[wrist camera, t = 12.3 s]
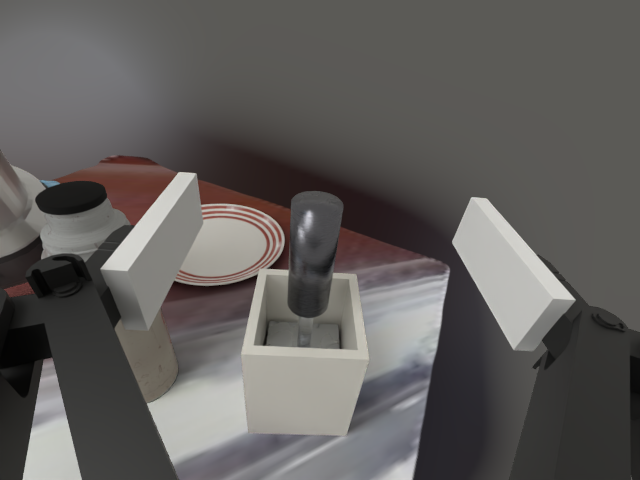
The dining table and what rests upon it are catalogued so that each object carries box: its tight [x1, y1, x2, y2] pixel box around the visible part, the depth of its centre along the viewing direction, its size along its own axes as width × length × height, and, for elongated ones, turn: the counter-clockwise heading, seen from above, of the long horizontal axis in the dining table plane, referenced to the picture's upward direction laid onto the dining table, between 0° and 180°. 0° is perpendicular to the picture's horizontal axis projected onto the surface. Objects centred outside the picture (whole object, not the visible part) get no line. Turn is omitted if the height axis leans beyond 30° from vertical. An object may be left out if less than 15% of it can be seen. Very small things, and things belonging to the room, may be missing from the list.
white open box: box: [241, 268, 369, 436], centre depth 39 cm, size 12×12×16 cm
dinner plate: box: [174, 204, 285, 286], centre depth 66 cm, size 28×27×3 cm
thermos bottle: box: [35, 181, 178, 403], centre depth 35 cm, size 8×8×28 cm
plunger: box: [266, 191, 343, 349], centre depth 33 cm, size 9×9×22 cm
